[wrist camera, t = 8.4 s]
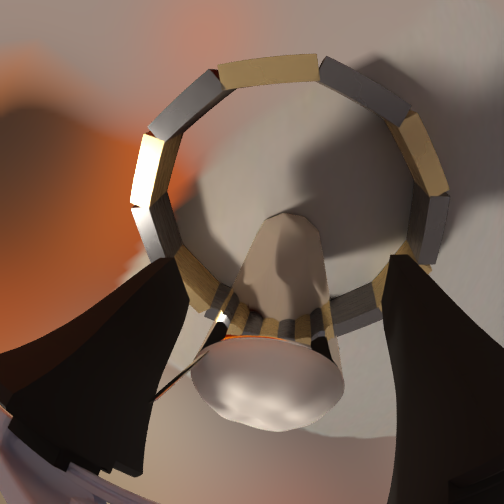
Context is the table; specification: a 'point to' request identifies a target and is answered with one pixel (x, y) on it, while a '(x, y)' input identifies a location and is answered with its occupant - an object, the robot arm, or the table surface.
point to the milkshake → (273, 335)
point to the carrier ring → (273, 72)
